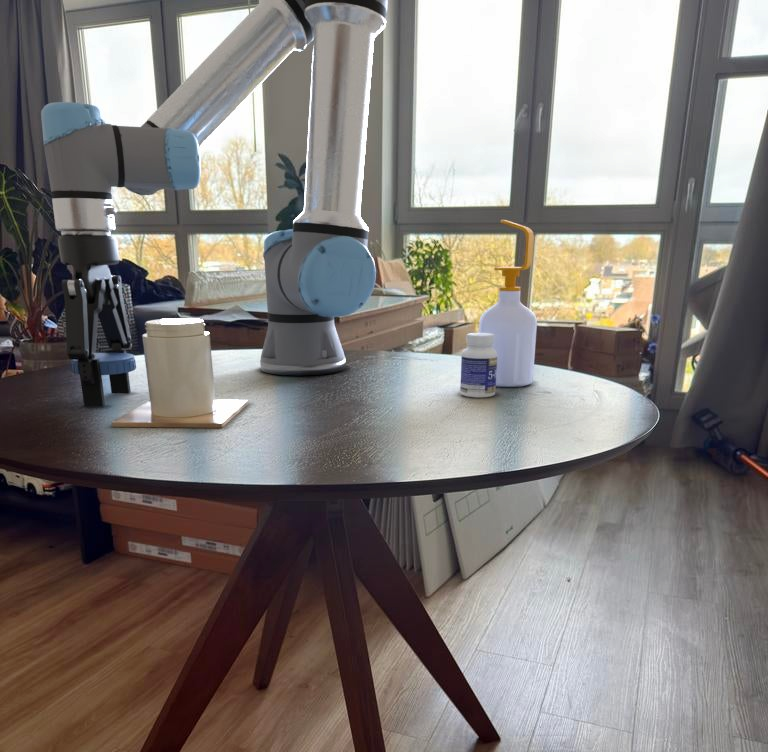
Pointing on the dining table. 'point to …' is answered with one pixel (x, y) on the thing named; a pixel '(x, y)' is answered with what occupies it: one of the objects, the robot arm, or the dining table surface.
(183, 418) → the mat
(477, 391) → the pill bottle
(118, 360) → the lid
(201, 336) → the jar
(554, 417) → the dining table surface
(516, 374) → the soap bottle
